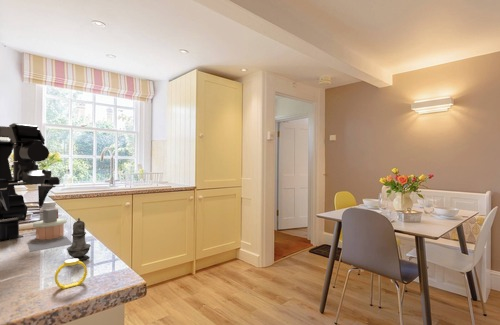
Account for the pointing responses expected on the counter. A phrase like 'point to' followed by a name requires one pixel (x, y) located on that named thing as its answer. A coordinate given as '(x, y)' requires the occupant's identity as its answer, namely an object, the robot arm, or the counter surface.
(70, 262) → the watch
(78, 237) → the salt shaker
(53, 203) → the pill bottle
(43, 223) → the lid
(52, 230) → the bowl
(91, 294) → the counter surface
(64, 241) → the mat
